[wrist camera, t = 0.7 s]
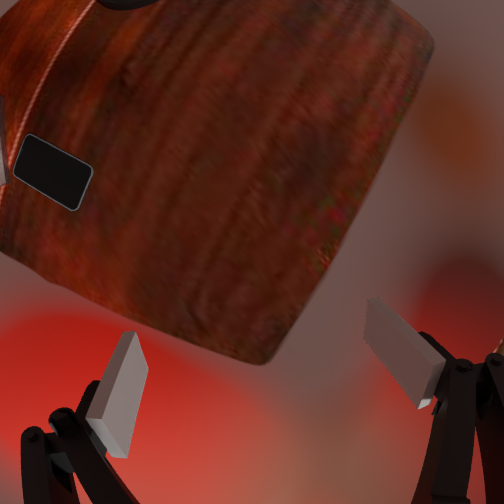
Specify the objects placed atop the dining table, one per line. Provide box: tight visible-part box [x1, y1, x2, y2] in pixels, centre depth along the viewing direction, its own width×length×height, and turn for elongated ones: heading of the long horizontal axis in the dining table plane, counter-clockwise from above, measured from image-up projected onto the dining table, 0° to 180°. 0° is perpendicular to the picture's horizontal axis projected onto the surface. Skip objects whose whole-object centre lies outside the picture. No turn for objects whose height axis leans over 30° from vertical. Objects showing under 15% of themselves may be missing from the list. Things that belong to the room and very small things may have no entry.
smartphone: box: [13, 134, 93, 211], centre depth 35 cm, size 7×1×15 cm
